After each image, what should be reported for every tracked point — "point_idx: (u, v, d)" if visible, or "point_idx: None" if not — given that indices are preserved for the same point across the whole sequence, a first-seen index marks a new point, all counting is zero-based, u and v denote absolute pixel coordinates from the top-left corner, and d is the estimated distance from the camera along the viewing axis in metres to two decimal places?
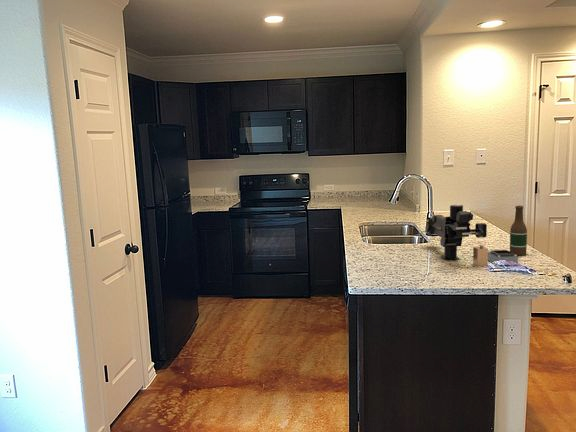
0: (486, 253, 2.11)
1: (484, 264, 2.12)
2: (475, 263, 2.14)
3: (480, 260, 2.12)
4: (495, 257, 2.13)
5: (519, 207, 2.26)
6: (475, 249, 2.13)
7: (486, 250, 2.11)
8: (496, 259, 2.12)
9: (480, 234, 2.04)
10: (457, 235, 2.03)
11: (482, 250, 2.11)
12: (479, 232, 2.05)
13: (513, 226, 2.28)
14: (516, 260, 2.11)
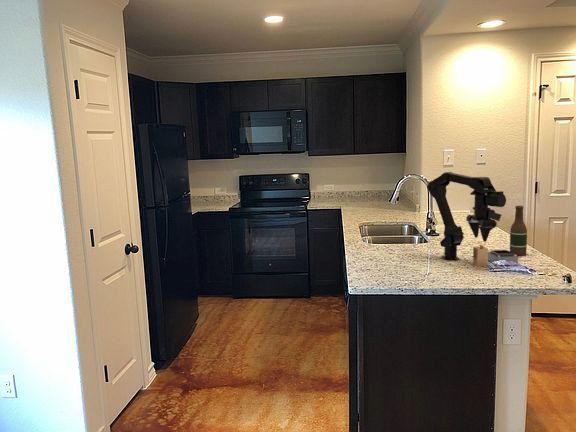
0: (486, 253, 2.11)
1: (484, 264, 2.12)
2: (475, 263, 2.14)
3: (480, 260, 2.12)
4: (495, 257, 2.13)
5: (519, 207, 2.26)
6: (475, 249, 2.13)
7: (486, 250, 2.11)
8: (496, 259, 2.12)
9: (474, 232, 2.17)
10: (484, 236, 2.07)
11: (482, 250, 2.11)
12: (476, 228, 2.17)
13: (513, 226, 2.28)
14: (516, 260, 2.11)
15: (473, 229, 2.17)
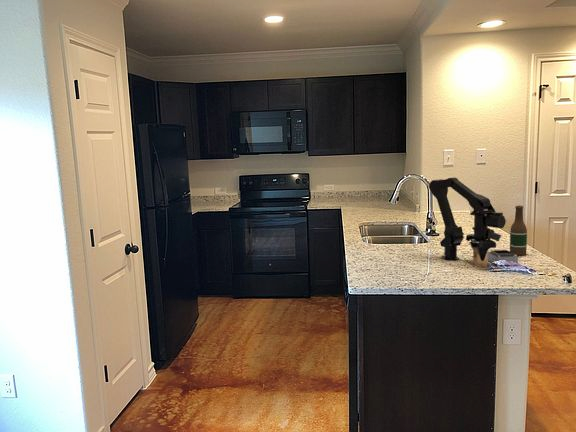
0: (486, 253, 2.11)
1: (484, 264, 2.12)
2: (475, 263, 2.14)
3: (480, 259, 2.12)
4: (495, 257, 2.13)
5: (519, 207, 2.26)
6: (475, 249, 2.13)
7: None
8: (496, 259, 2.12)
9: None
10: (482, 255, 2.10)
11: None
12: None
13: (513, 226, 2.28)
14: (516, 260, 2.11)
15: None
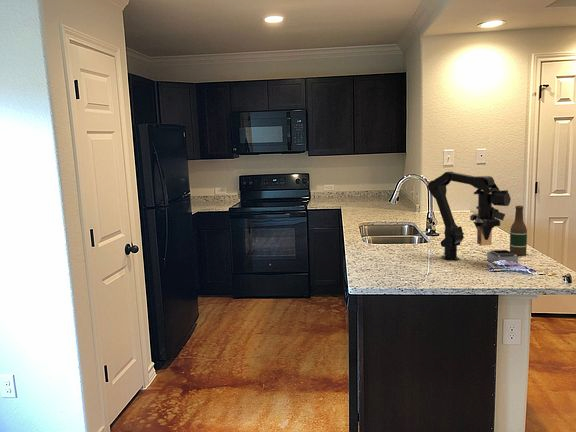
0: None
1: (488, 243, 2.11)
2: (479, 242, 2.13)
3: (484, 239, 2.11)
4: (495, 257, 2.13)
5: (519, 207, 2.26)
6: (479, 228, 2.12)
7: None
8: (496, 259, 2.12)
9: None
10: (486, 234, 2.09)
11: None
12: None
13: (513, 226, 2.28)
14: (516, 260, 2.11)
15: None
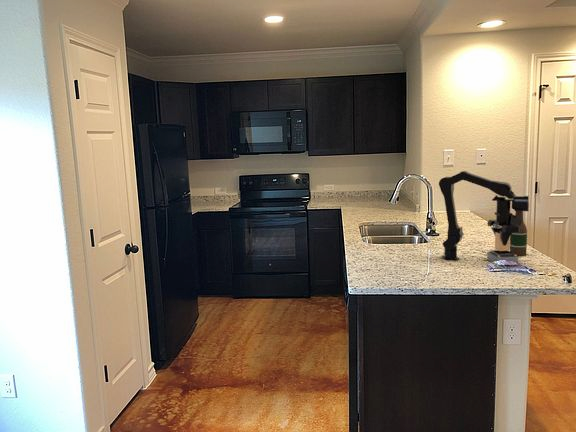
0: None
1: (506, 249, 2.13)
2: (497, 248, 2.15)
3: (502, 244, 2.13)
4: (495, 257, 2.13)
5: None
6: (497, 234, 2.15)
7: None
8: (496, 259, 2.12)
9: None
10: (504, 240, 2.12)
11: None
12: None
13: None
14: (516, 260, 2.11)
15: None
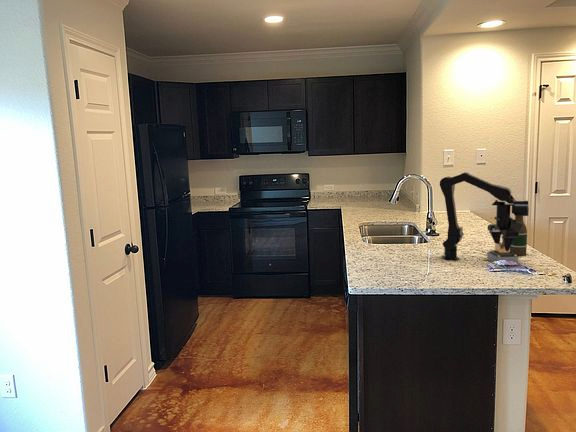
0: None
1: None
2: None
3: None
4: (495, 257, 2.13)
5: None
6: (497, 245, 2.15)
7: None
8: (496, 259, 2.12)
9: (496, 241, 2.20)
10: (506, 246, 2.10)
11: None
12: (497, 238, 2.20)
13: None
14: (516, 260, 2.11)
15: (494, 238, 2.20)
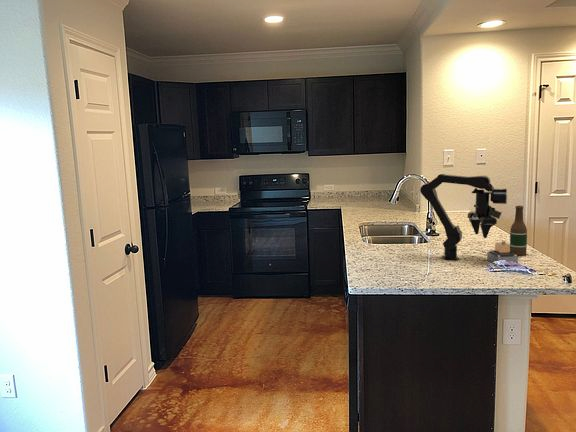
0: (508, 249, 2.13)
1: None
2: None
3: None
4: (495, 257, 2.13)
5: (519, 207, 2.26)
6: (497, 245, 2.15)
7: (508, 246, 2.13)
8: (496, 259, 2.12)
9: (475, 228, 2.24)
10: (484, 233, 2.14)
11: (504, 246, 2.13)
12: (476, 225, 2.24)
13: (513, 226, 2.28)
14: (516, 260, 2.11)
15: (474, 226, 2.24)
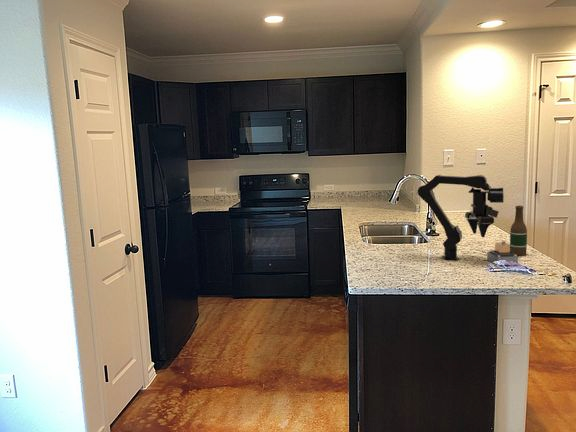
0: (508, 249, 2.13)
1: None
2: None
3: None
4: (495, 257, 2.13)
5: (519, 207, 2.26)
6: (497, 245, 2.15)
7: (508, 246, 2.13)
8: (496, 259, 2.12)
9: (473, 228, 2.25)
10: (482, 232, 2.15)
11: (504, 246, 2.13)
12: (474, 225, 2.25)
13: (513, 226, 2.28)
14: (516, 260, 2.11)
15: (471, 225, 2.25)
